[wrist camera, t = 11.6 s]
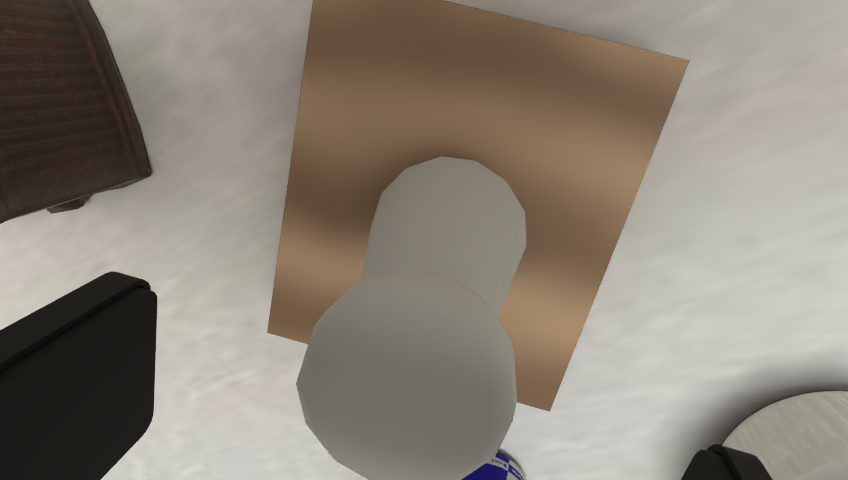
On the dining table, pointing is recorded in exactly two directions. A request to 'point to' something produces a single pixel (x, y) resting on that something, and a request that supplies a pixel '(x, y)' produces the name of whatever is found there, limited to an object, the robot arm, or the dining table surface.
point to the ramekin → (798, 437)
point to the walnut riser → (469, 154)
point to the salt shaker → (422, 331)
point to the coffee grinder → (61, 110)
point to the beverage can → (497, 470)
